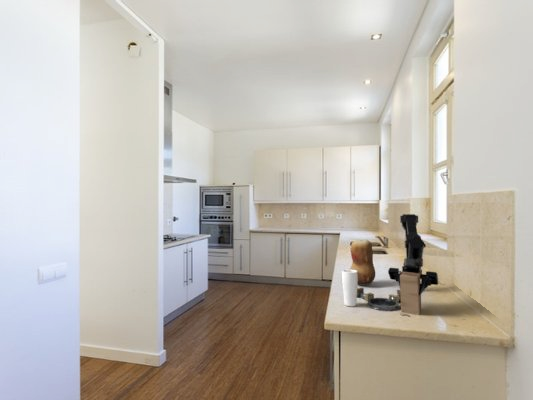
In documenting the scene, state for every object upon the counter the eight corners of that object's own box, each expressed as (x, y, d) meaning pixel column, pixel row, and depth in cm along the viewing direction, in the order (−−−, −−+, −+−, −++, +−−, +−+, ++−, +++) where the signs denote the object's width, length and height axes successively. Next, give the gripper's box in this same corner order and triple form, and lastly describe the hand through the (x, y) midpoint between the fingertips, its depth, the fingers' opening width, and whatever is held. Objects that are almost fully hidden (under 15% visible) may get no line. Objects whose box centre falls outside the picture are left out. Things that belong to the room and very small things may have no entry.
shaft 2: (398, 298, 141) (398, 289, 141) (406, 300, 138) (406, 291, 138) (388, 301, 136) (388, 292, 136) (396, 303, 133) (396, 294, 133)
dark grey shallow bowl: (386, 299, 139) (386, 296, 139) (406, 309, 126) (406, 305, 126) (361, 302, 136) (361, 299, 136) (379, 312, 123) (378, 308, 123)
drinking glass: (349, 308, 128) (349, 273, 128) (339, 304, 134) (338, 270, 134) (361, 306, 131) (360, 271, 131) (350, 301, 137) (349, 268, 137)
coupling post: (404, 306, 128) (403, 271, 128) (421, 309, 125) (420, 273, 124) (401, 311, 123) (399, 275, 123) (418, 315, 119) (417, 277, 119)
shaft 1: (355, 297, 144) (355, 288, 144) (362, 295, 145) (361, 287, 146) (367, 301, 136) (367, 293, 136) (374, 300, 138) (374, 291, 138)
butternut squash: (345, 283, 170) (344, 238, 171) (365, 281, 174) (364, 237, 175) (360, 289, 157) (359, 241, 157) (381, 287, 161) (380, 240, 162)
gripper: (388, 249, 133) (382, 279, 124) (436, 252, 122) (433, 285, 113) (393, 264, 139) (387, 293, 130) (439, 268, 128) (437, 301, 119)
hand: (410, 293), depth 123 cm, fingers closed on coupling post, 6 cm apart
